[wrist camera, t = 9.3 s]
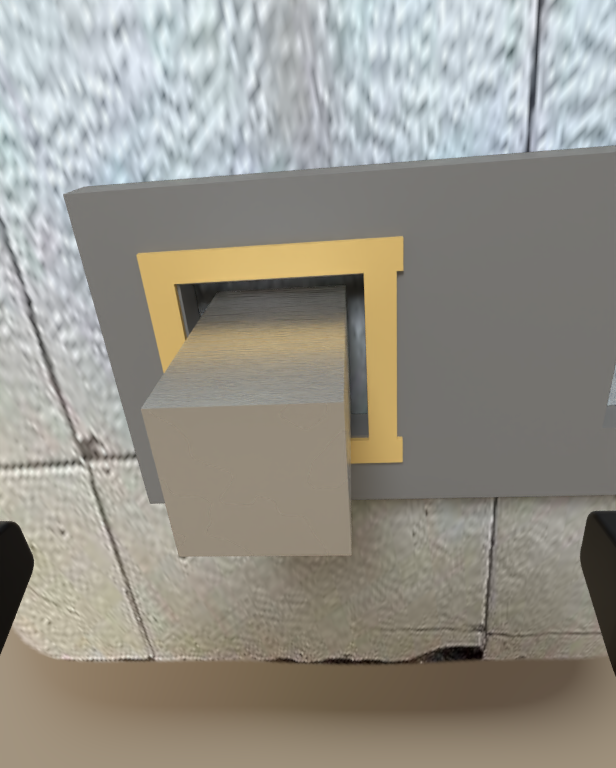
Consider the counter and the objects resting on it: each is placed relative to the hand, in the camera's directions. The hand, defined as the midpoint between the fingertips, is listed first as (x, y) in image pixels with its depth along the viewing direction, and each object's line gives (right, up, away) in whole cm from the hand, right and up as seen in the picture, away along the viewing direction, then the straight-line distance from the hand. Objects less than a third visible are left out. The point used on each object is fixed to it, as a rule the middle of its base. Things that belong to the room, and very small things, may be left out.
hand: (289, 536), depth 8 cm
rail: (+6, +4, +11) cm, 13 cm away
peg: (0, +4, +11) cm, 12 cm away
